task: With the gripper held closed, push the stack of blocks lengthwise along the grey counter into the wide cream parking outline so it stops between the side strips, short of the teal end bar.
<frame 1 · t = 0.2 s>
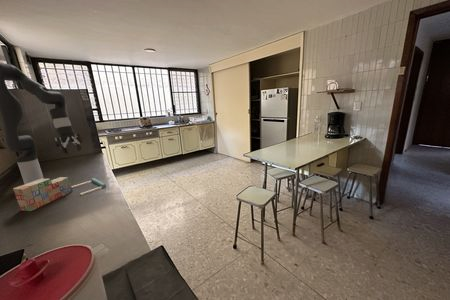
hand: (73, 152, 112), 22 cm above the table, tool pointing down, fingers open, 8 cm apart
parking outline: (87, 187, 115), on the table
stack of blocks: (49, 200, 101), on the table
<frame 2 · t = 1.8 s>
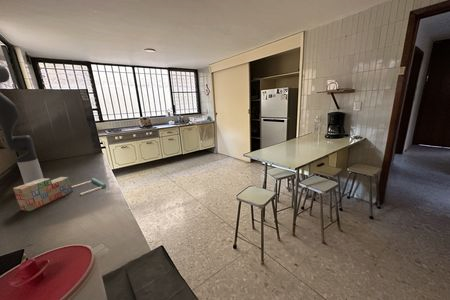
nothing on the table moved.
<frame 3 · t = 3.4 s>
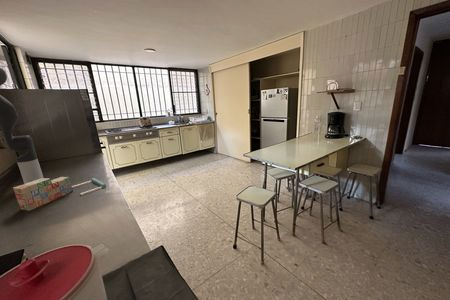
nothing on the table moved.
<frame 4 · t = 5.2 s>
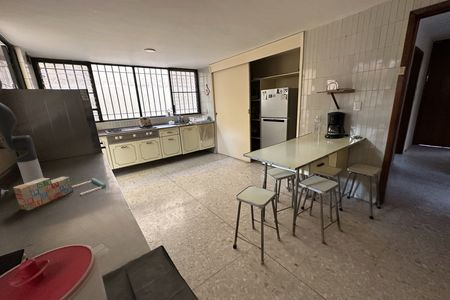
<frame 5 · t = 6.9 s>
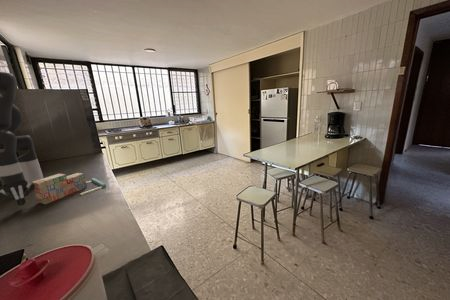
hand: (22, 204, 93), 2 cm above the table, tool pointing down, fingers closed
stack of blocks: (64, 194, 107), on the table, touching hand
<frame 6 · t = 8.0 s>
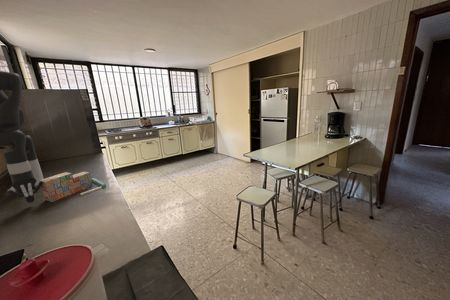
hand: (31, 202, 95), 2 cm above the table, tool pointing down, fingers closed
stack of blocks: (71, 193, 109), on the table, touching hand
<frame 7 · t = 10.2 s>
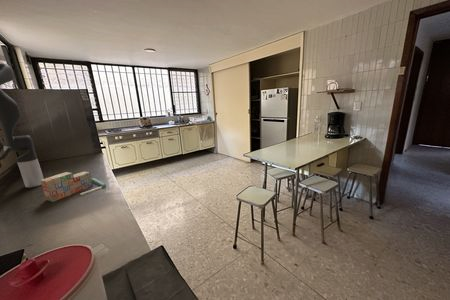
stack of blocks: (71, 192, 109), on the table
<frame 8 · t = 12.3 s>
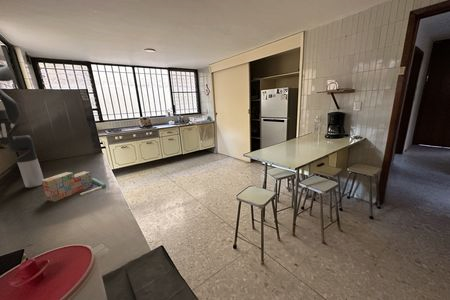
hand: (5, 144, 93), 32 cm above the table, tool pointing down, fingers closed
nothing on the table moved.
at the end: stack of blocks inside the target area (0.8 cm from its centre), on the table; stack of blocks tilted 0°; the gripper is holding nothing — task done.
